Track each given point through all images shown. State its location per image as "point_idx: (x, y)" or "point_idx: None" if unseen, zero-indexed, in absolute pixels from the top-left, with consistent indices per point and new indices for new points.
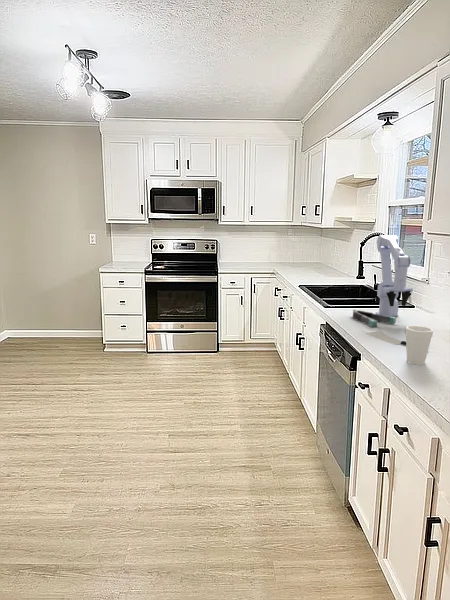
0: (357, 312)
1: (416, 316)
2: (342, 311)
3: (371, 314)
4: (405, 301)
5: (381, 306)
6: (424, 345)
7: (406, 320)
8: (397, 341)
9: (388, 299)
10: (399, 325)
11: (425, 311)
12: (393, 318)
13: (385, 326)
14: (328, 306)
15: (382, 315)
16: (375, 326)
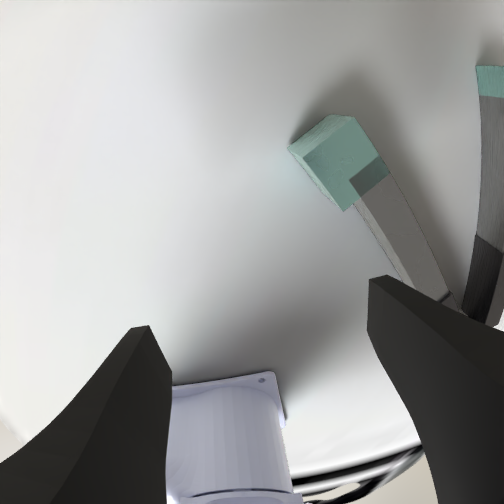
0: (488, 322)
1: (42, 378)
2: None
3: (446, 289)
4: (118, 378)
5: (283, 447)
6: None
7: (120, 283)
8: None
9: (253, 495)
10: (273, 82)
11: (15, 433)
12: (352, 117)
13: (417, 64)
14: (412, 454)
15: (401, 245)
16: (485, 67)
